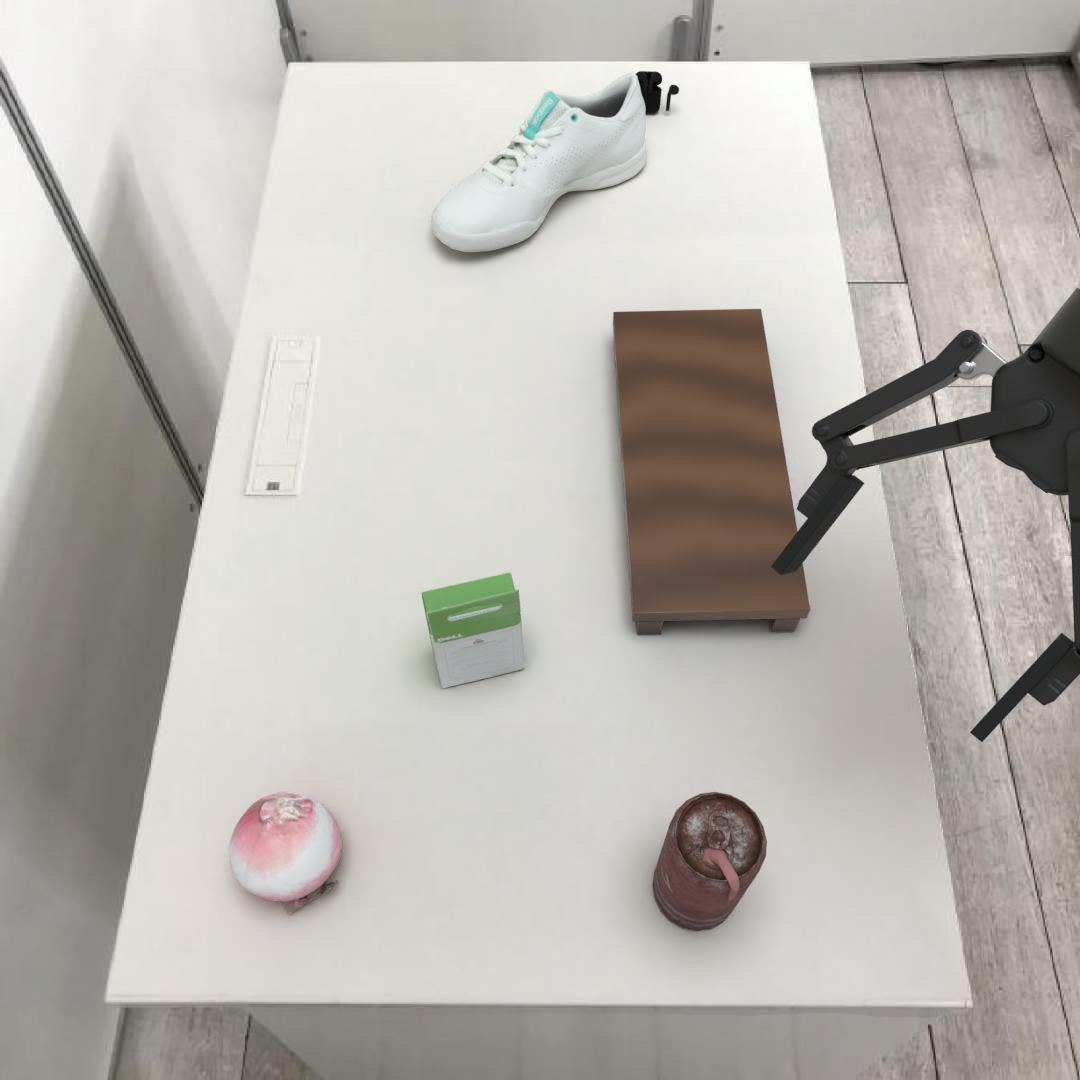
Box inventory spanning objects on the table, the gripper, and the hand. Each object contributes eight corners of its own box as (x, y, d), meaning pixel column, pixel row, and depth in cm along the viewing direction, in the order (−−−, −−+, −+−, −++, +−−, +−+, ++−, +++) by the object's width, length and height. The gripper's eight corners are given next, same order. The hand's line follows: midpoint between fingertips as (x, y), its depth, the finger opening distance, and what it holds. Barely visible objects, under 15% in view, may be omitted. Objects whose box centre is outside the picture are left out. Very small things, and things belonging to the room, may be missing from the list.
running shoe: (409, 227, 113) (395, 133, 103) (602, 122, 121) (606, 26, 111) (466, 281, 109) (456, 189, 98) (661, 168, 117) (671, 73, 107)
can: (678, 950, 75) (701, 908, 63) (637, 867, 78) (652, 811, 66) (753, 913, 76) (790, 865, 64) (710, 833, 79) (738, 772, 67)
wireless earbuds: (614, 115, 121) (617, 76, 117) (615, 101, 123) (617, 61, 118) (676, 117, 121) (680, 77, 117) (676, 102, 122) (680, 63, 118)
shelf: (800, 632, 88) (810, 610, 84) (630, 635, 88) (633, 613, 84) (754, 336, 104) (761, 308, 101) (611, 339, 104) (613, 311, 101)
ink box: (514, 627, 88) (508, 545, 77) (526, 670, 86) (521, 592, 75) (432, 646, 88) (413, 566, 76) (441, 690, 86) (423, 614, 74)
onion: (361, 818, 80) (344, 788, 74) (334, 923, 76) (314, 901, 70) (259, 801, 81) (234, 770, 75) (227, 905, 77) (198, 881, 71)
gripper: (1396, 476, 50) (1080, 790, 58) (953, 205, 59) (734, 506, 67) (1425, 477, 43) (1065, 830, 51) (923, 174, 53) (685, 511, 61)
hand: (877, 647), depth 59 cm, fingers open, 13 cm apart
